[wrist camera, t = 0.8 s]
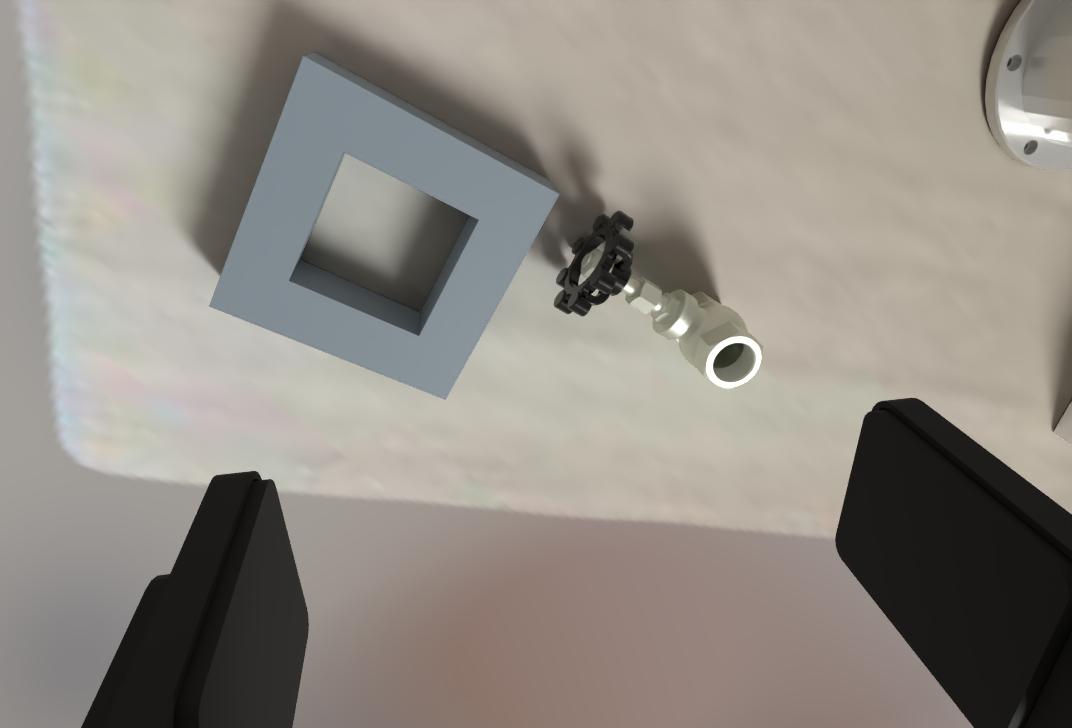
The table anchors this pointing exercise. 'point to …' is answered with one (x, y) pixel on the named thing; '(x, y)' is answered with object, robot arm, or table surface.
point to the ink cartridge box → (1065, 426)
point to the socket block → (414, 158)
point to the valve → (659, 305)
